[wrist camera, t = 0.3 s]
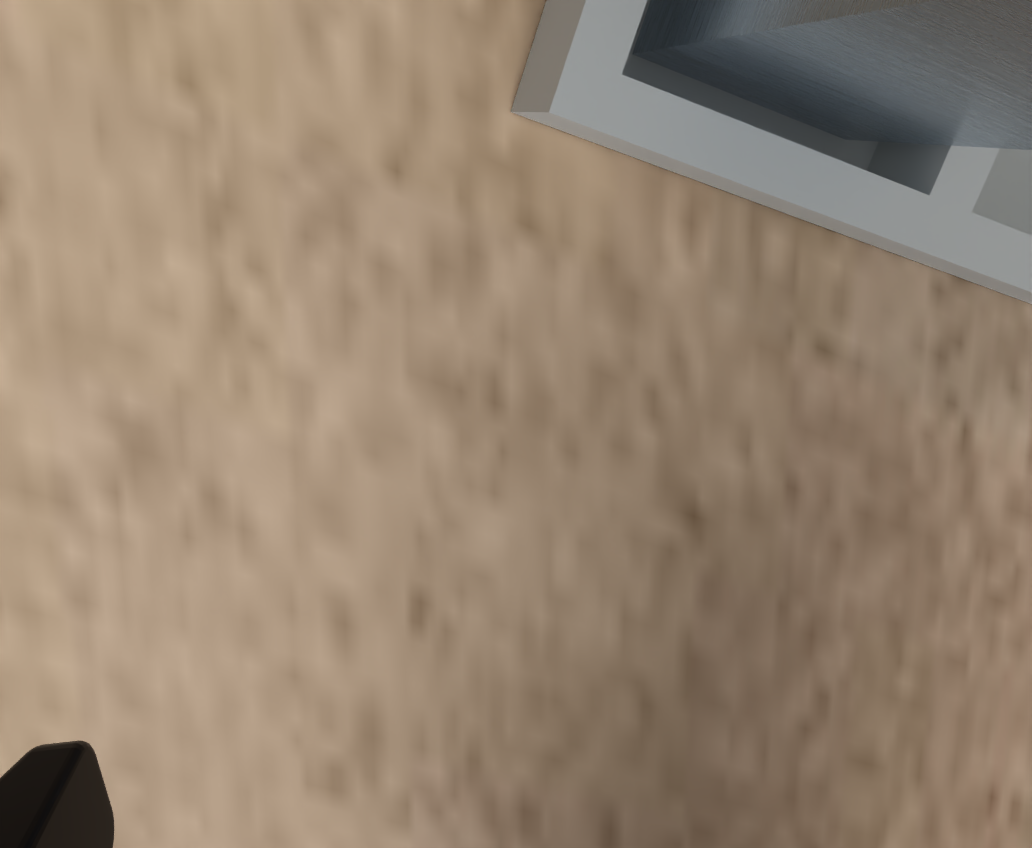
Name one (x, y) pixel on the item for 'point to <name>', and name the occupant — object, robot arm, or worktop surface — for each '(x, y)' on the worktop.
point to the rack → (781, 151)
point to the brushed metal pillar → (861, 63)
